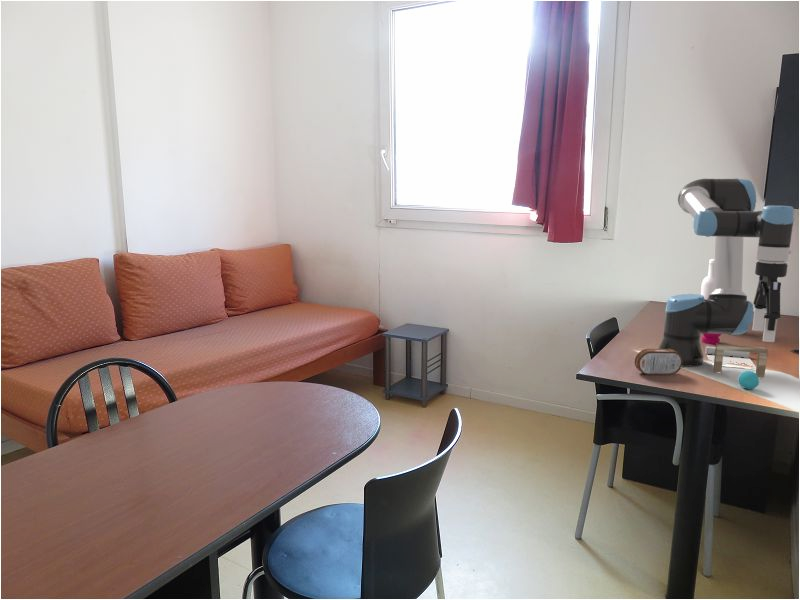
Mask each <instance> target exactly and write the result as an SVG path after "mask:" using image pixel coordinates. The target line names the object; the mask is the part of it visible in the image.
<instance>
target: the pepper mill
mask: <svg viewBox="0 0 800 600" xmlns="http://www.w3.org/2000/svg"><path fill="white" fill-rule="evenodd" d="M707 300H709V298H708V299H707ZM701 334H702V337H701V343H704V344H708V345H716V344H720V340H721V339H720V338H719V337H721V336H722V334H714V333H701Z"/></svg>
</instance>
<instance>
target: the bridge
mask: <svg viewBox="0 0 800 600" xmlns="http://www.w3.org/2000/svg"><path fill="white" fill-rule="evenodd" d="M715 347H716V349H715V355H714V356H715V358H714V366H712V367H713V369H712V371H713V370H714V371H713V372H721V373H722V368H723V367H722V362H723V353H724V350H732V351H743V352H750V353H757V359H756V365H755V366H756V370H755V373H756V374H757V376H758V377H759V378H763V377H764V378H765V376H766V367H767V360H768V359H767V358H768V354H769V353H768V352H769V349H768V348H767V347H761V346H760V347H759V346H747V345H736V344H724V343H719V344H715Z"/></svg>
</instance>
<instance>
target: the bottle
mask: <svg viewBox="0 0 800 600" xmlns="http://www.w3.org/2000/svg"><path fill="white" fill-rule="evenodd" d="M714 268H715V258H711V259H709V262H708V270H707V271H708V272H707V276H705V277H704V278H703V280H702V281H701V285H700V286H701V288H700V295H703V296H704V298H705V299H706V300H707V299H708V298H709V294H710V293H711V292H712V291H713V290H714Z"/></svg>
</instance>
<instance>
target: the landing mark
mask: <svg viewBox="0 0 800 600" xmlns="http://www.w3.org/2000/svg"><path fill="white" fill-rule="evenodd" d="M706 356H707V360H708V361H709V363H710V362H712V363H714V358H715V355H708V354H706ZM710 360H712V361H710ZM730 361H731V362H730ZM736 362H737V363H736ZM726 363H734V364H738V363H739V364H741V363H745V364H747V365H749V366H753V367H752V368H751V369H756V366H757V365H755V364H754V362H753V361H752V360H751V358H741V357H730V356H723V362H722V365H726ZM742 365H744V364H742ZM751 369H750V370H751Z"/></svg>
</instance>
